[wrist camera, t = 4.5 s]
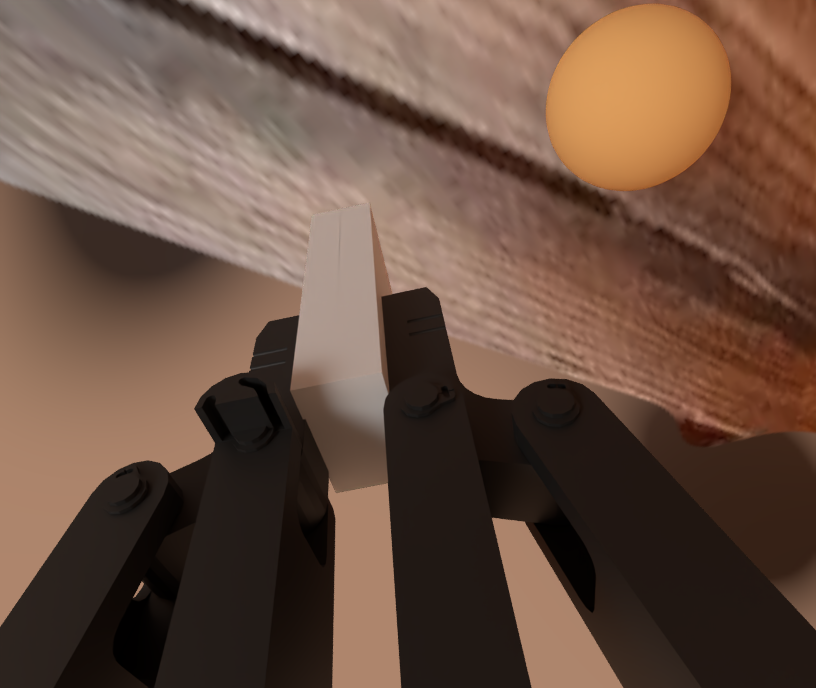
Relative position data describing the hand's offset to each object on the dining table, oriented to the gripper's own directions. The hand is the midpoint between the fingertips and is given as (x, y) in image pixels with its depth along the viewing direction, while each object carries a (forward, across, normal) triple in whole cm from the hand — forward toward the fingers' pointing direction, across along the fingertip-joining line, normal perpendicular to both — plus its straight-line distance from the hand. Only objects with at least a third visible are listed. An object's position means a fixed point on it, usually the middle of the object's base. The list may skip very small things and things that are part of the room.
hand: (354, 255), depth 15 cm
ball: (+5, +10, 0) cm, 11 cm away
